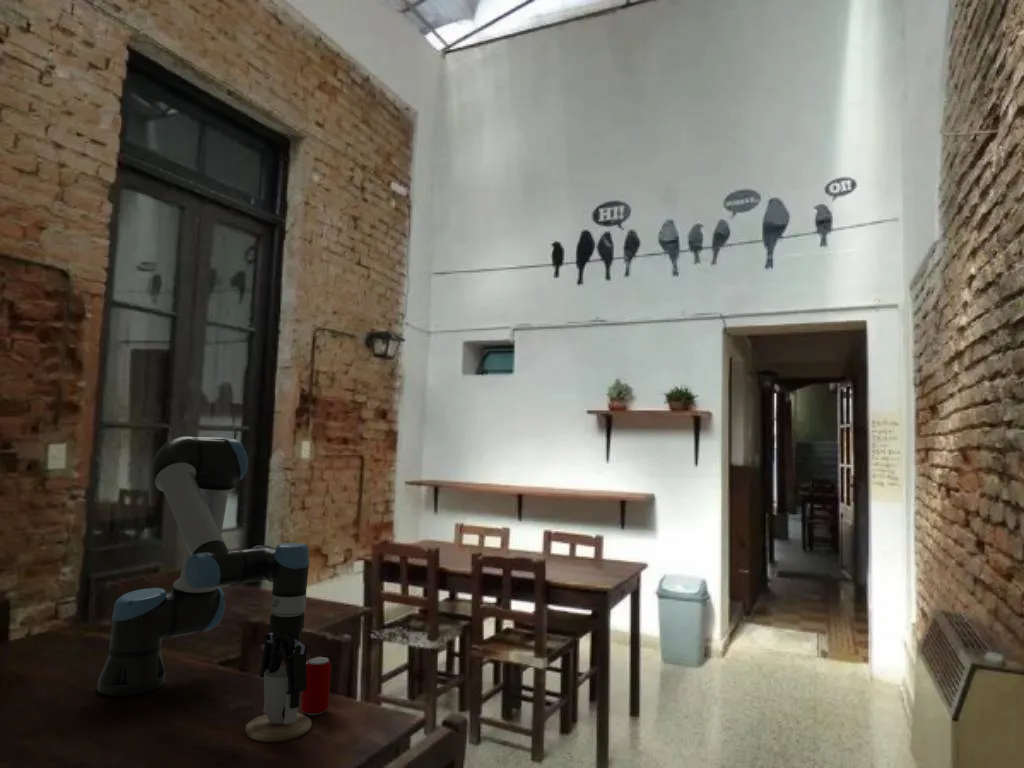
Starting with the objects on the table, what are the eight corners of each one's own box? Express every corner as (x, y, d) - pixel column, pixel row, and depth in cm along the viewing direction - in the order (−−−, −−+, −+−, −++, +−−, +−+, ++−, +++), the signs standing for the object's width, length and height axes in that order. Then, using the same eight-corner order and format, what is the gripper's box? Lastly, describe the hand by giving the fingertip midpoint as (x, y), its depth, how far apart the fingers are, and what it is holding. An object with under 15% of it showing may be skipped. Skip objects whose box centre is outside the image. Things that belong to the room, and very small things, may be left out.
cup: (286, 727, 144) (289, 679, 145) (253, 722, 145) (256, 675, 146) (305, 713, 151) (308, 668, 152) (273, 708, 153) (276, 664, 154)
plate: (233, 728, 147) (233, 724, 147) (288, 710, 158) (288, 706, 158) (267, 748, 138) (268, 743, 138) (323, 728, 149) (323, 724, 149)
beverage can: (313, 705, 162) (317, 654, 163) (333, 710, 159) (336, 659, 160) (295, 713, 156) (299, 661, 158) (315, 719, 154) (319, 666, 155)
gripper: (248, 607, 154) (240, 708, 152) (299, 624, 141) (291, 735, 139) (277, 602, 160) (269, 699, 158) (328, 618, 147) (321, 725, 145)
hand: (279, 716), depth 148 cm, fingers closed on cup, 8 cm apart
